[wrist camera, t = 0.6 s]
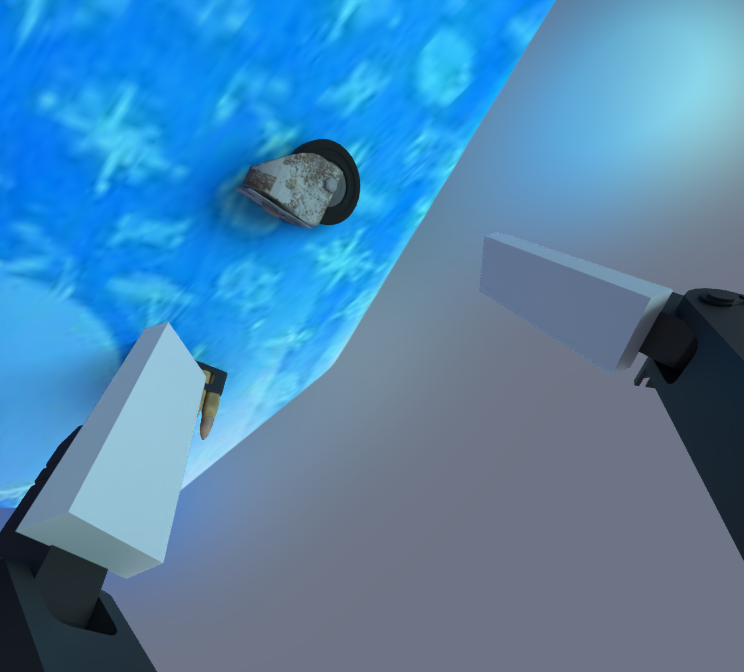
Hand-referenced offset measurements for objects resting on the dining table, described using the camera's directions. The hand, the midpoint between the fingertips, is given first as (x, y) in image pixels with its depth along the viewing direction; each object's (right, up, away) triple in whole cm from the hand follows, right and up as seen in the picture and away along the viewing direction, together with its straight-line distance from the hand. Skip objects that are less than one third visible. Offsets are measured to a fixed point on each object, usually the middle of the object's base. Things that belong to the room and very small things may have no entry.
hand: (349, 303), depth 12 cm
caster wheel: (-7, +17, +21) cm, 28 cm away
